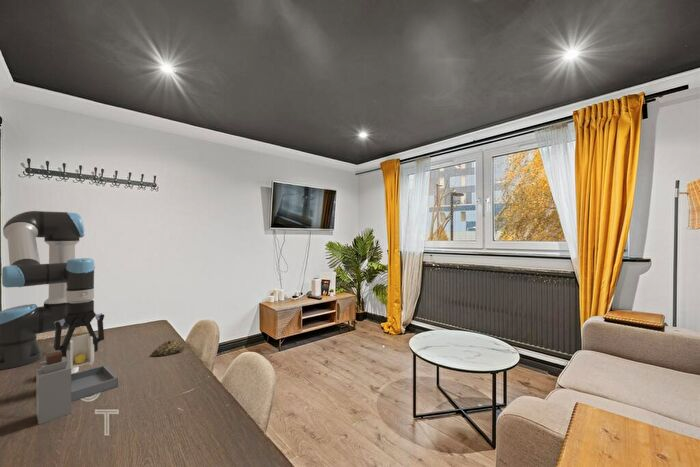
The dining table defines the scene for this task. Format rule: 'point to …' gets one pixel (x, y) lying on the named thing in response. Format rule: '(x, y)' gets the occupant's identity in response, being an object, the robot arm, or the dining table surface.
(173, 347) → the bread roll
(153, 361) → the dining table surface
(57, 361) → the perfume bottle
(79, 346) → the white u-shaped stool
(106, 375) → the tray
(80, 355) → the ball
